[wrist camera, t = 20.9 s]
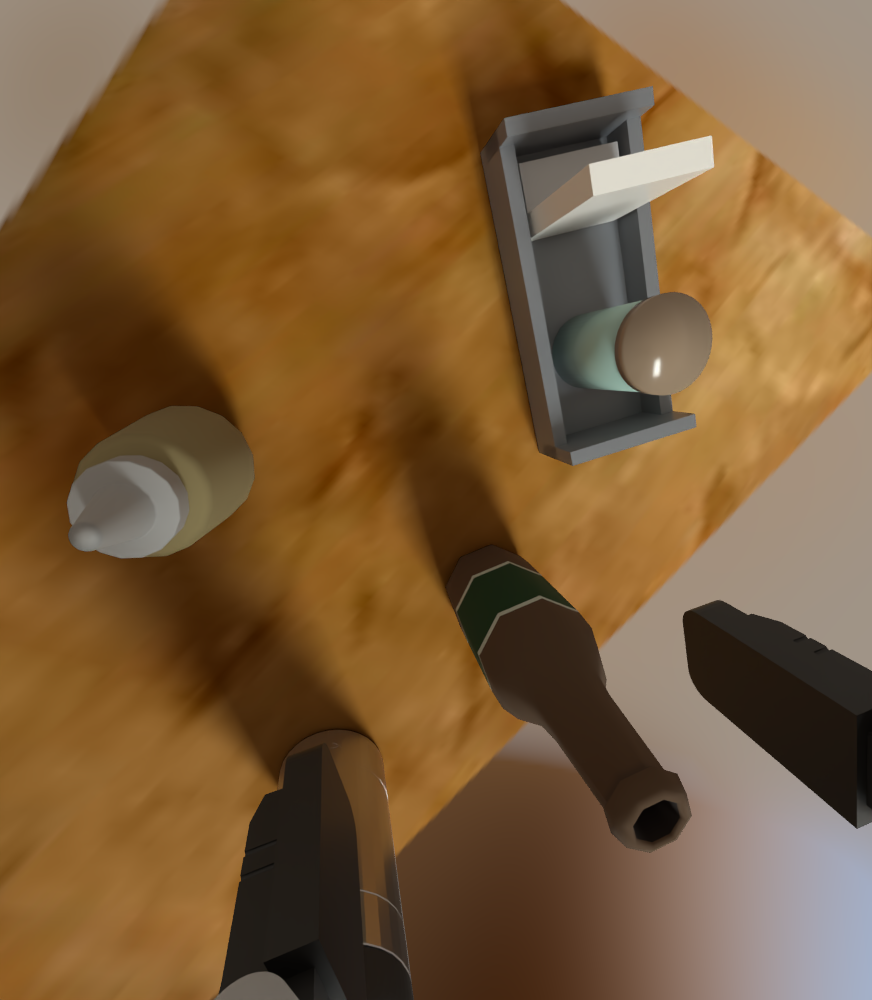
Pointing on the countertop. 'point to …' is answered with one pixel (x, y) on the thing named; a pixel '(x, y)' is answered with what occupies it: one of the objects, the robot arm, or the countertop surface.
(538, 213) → the pusher
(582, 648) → the beer bottle
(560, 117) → the gray rectangular tray
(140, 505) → the squeeze bottle
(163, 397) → the countertop surface
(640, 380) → the jar
